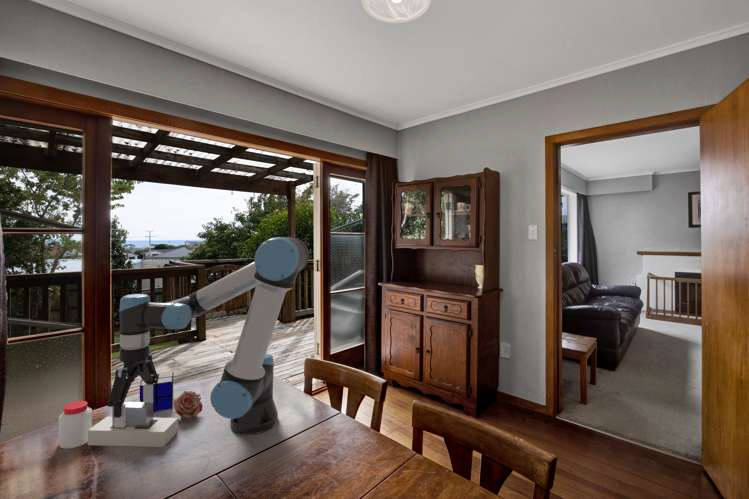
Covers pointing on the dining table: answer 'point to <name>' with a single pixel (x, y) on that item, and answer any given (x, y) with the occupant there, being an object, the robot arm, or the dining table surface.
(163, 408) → the puzzle cube
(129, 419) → the gray rectangular block
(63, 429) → the pill bottle
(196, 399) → the flower
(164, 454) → the dining table surface
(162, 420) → the block with rectangular holes
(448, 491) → the dining table surface
